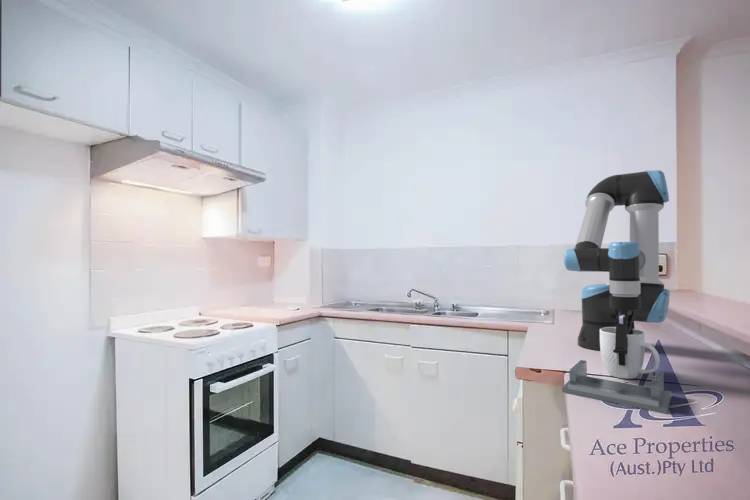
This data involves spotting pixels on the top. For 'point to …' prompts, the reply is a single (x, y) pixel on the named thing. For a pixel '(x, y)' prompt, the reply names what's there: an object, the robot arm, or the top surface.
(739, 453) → the top surface
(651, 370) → the mug
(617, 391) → the dock
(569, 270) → the robot arm
